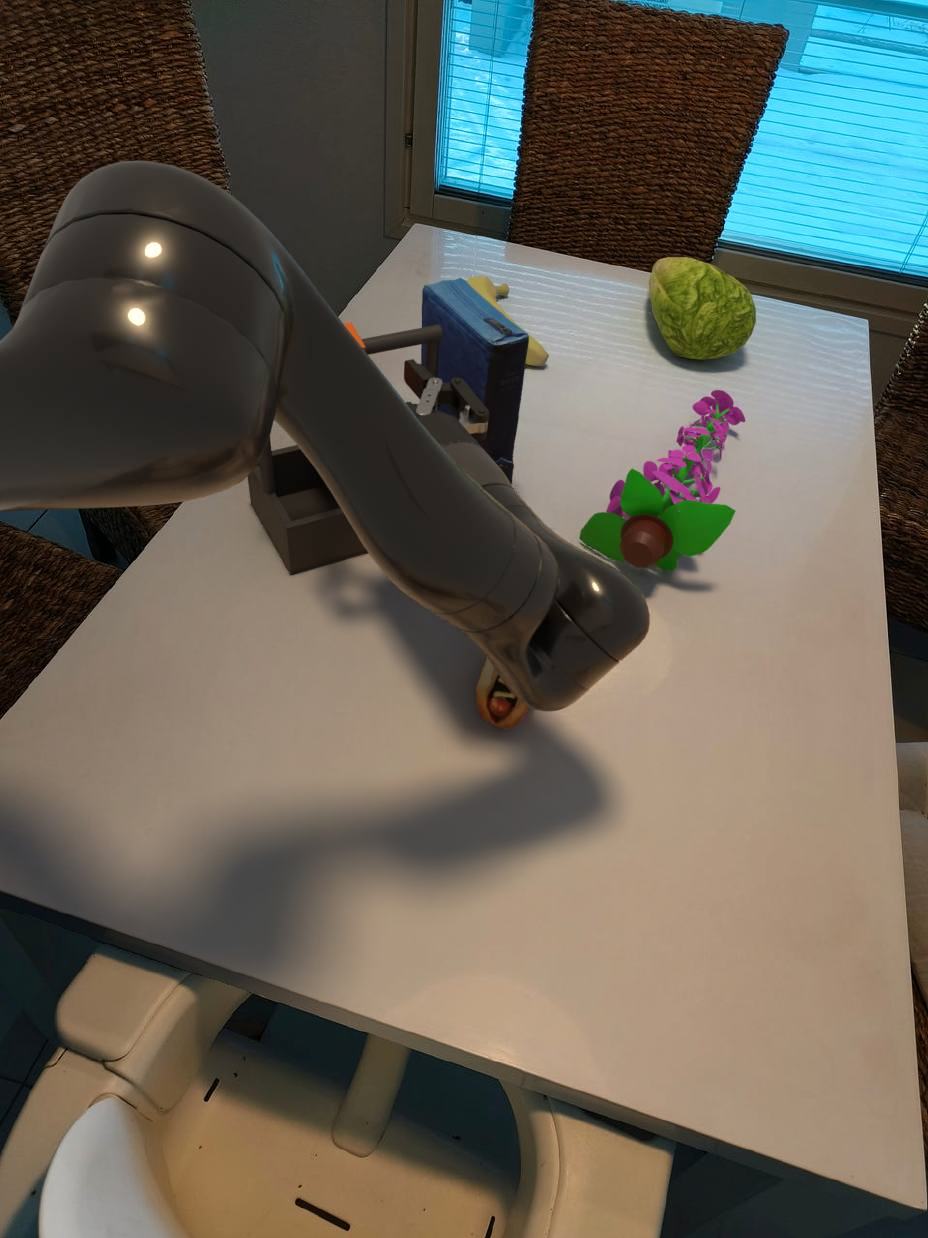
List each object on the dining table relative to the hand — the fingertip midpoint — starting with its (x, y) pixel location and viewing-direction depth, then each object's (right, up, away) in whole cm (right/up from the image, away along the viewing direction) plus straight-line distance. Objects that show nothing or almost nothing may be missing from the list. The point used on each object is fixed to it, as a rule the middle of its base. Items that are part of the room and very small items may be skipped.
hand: (362, 377), depth 74 cm
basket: (-3, -10, +15) cm, 18 cm away
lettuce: (+40, +21, +49) cm, 67 cm away
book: (+9, -5, +22) cm, 24 cm away
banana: (+14, +20, +45) cm, 51 cm away
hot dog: (+13, -27, +2) cm, 30 cm away
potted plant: (+32, -7, +22) cm, 39 cm away
